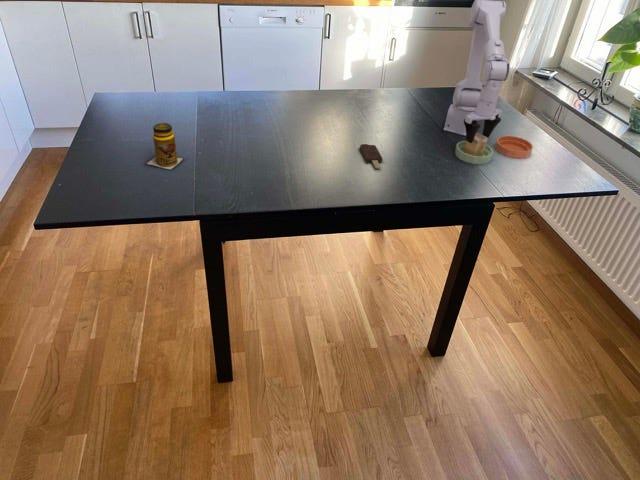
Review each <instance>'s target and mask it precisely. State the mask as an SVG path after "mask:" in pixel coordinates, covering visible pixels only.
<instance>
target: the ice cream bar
mask: <svg viewBox="0 0 640 480" xmlns="http://www.w3.org/2000/svg"><path fill="white" fill-rule="evenodd" d="M359 151H360V153H361V155H362V157H363V159H364V161H365V163H367V164H371V163H372V164H373V167H374V168H375V169H376V170H380V169H381V165H380V163H382V162H383V156H382V155H381V153H380V151H379V149H378V148H377V146H376V144H368V143H363V144H362V143H361V144H360V145H359Z"/></svg>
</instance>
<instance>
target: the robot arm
mask: <svg viewBox="0 0 640 480" xmlns="http://www.w3.org/2000/svg"><path fill="white" fill-rule="evenodd" d="M506 13H507V3H506V2H505V0H474V1H473V3H472V5H471V7H470V15H469V22H468V26H469V27H471V28H472V37H471V43H470V48H469V53H468V54H469V55H468V60H467V67H466V73H465V78H464V79H462V80H461V81H459V82H458V83H457V84H456V85H455V89H454V92H453V95H452V103H451V104H450V106H449V108H448V110H447V115H446V119H445V124H444V127H443V131H446V132H450V133H453V134H456V135H457V134H458V135H461V136H465V141H467V142H469V143H472V142H473V140H474V137H475V134H476V133H477V132H478V130H479V129H480V128H481V125H480V124H479V123H478V122H477V121H481V120H482V121H484V123H483V129H482V135H483V136H485V137H487V138H488V139H489V138H490V136H491V135H492V133H493V132H494V130H495V128H496V127H497V126H498V125H499V123H501V121H502V118H501V116H502V112H503V110H502V109H500V108H496V107H497V105H498V101H499V97H500V93H501V91H502V87H503V84H504V82H506V81H507V80H508V77H509V74H510V61H509V60H508V58H506V53H505V43H504V41H503V40H501V24H502V22H503V20H504V18H505V16H506ZM483 62H484V63H485V64H484V66H483ZM482 66H483V67H482ZM482 68H483V70H482ZM481 72H482V77H481ZM480 79H481V81H480ZM474 88H476V89H478V90H475V89H474Z"/></svg>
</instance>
